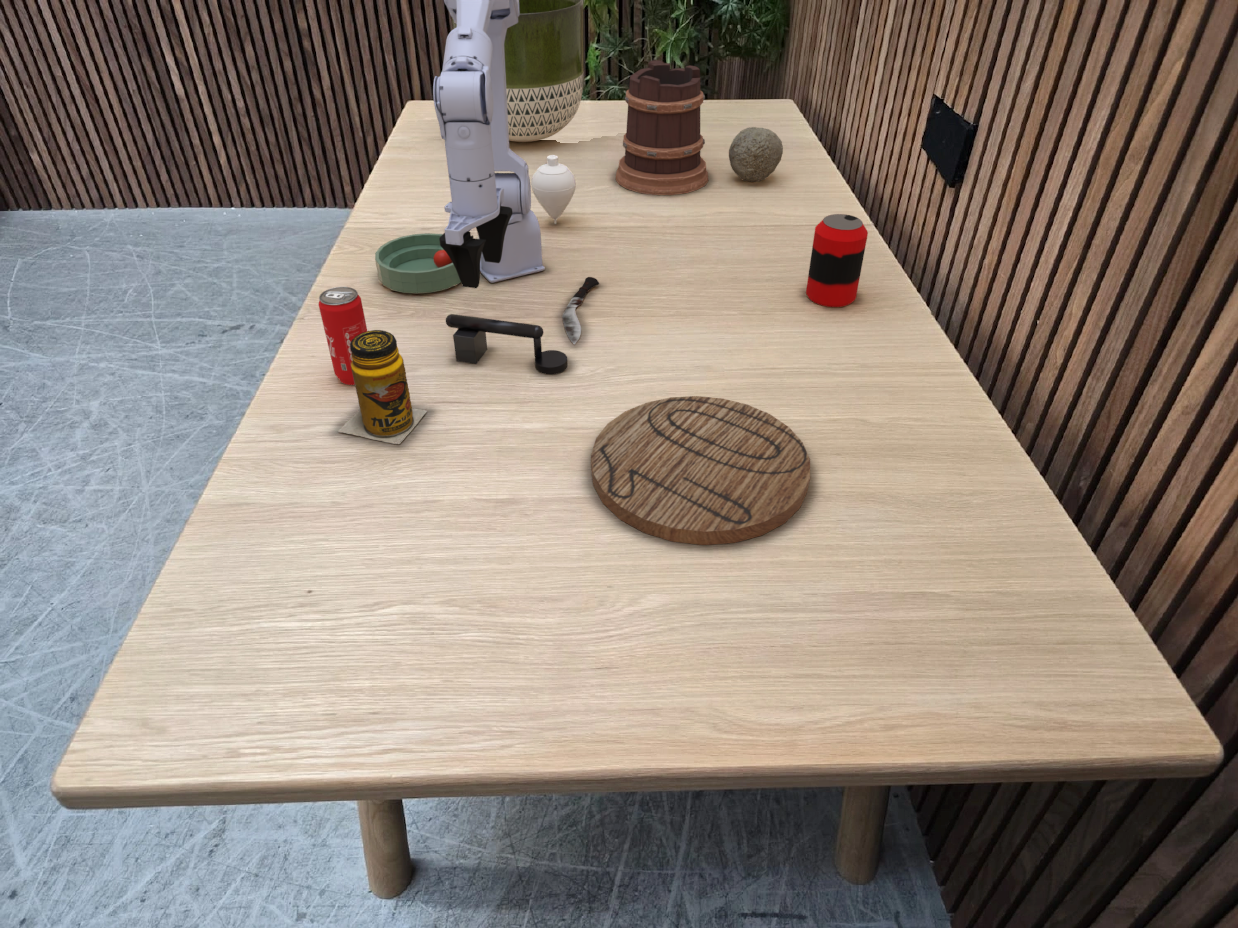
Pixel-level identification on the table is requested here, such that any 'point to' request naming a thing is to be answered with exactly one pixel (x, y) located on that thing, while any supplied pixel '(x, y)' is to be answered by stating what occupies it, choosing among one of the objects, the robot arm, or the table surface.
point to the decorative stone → (755, 153)
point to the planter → (543, 67)
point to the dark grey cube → (469, 345)
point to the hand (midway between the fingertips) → (482, 273)
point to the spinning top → (553, 186)
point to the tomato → (441, 258)
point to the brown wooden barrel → (663, 132)
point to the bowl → (414, 265)
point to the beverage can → (342, 327)
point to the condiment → (380, 390)
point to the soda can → (836, 260)
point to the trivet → (700, 470)
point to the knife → (569, 314)
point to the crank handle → (544, 361)
